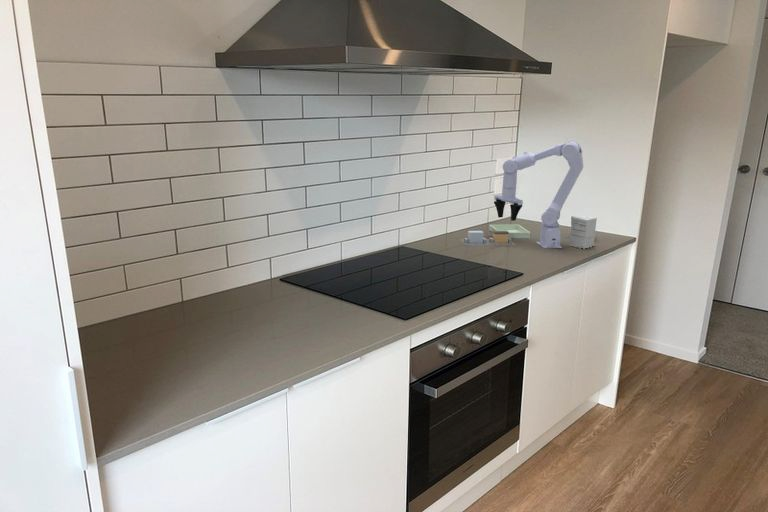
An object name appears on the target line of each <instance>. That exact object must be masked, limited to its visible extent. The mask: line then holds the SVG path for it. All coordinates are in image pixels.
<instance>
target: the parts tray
mask: <svg viewBox="0 0 768 512" xmlns="http://www.w3.org/2000/svg"><path fill="white" fill-rule="evenodd" d="M488 227H489V228H488V232H491V233H492V234H493V231H508V232H509V236H508V237H510V238H511V239H531V234H532V232H531V231H529V230H528V229H526V228H524V227H523V226H521V225H520V224H489V226H488Z"/></svg>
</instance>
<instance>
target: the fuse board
mask: <svg viewBox="0 0 768 512" xmlns="http://www.w3.org/2000/svg"><path fill="white" fill-rule="evenodd" d="M459 240H460V241H461V243H462V244H463V245H464V246H517V244H516V243H515V242H514V241H512V240H513V238H510V237H508V243H494V239H493V237H488V238H486V237H483V243H469V239H468V237H463V238H459Z"/></svg>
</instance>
